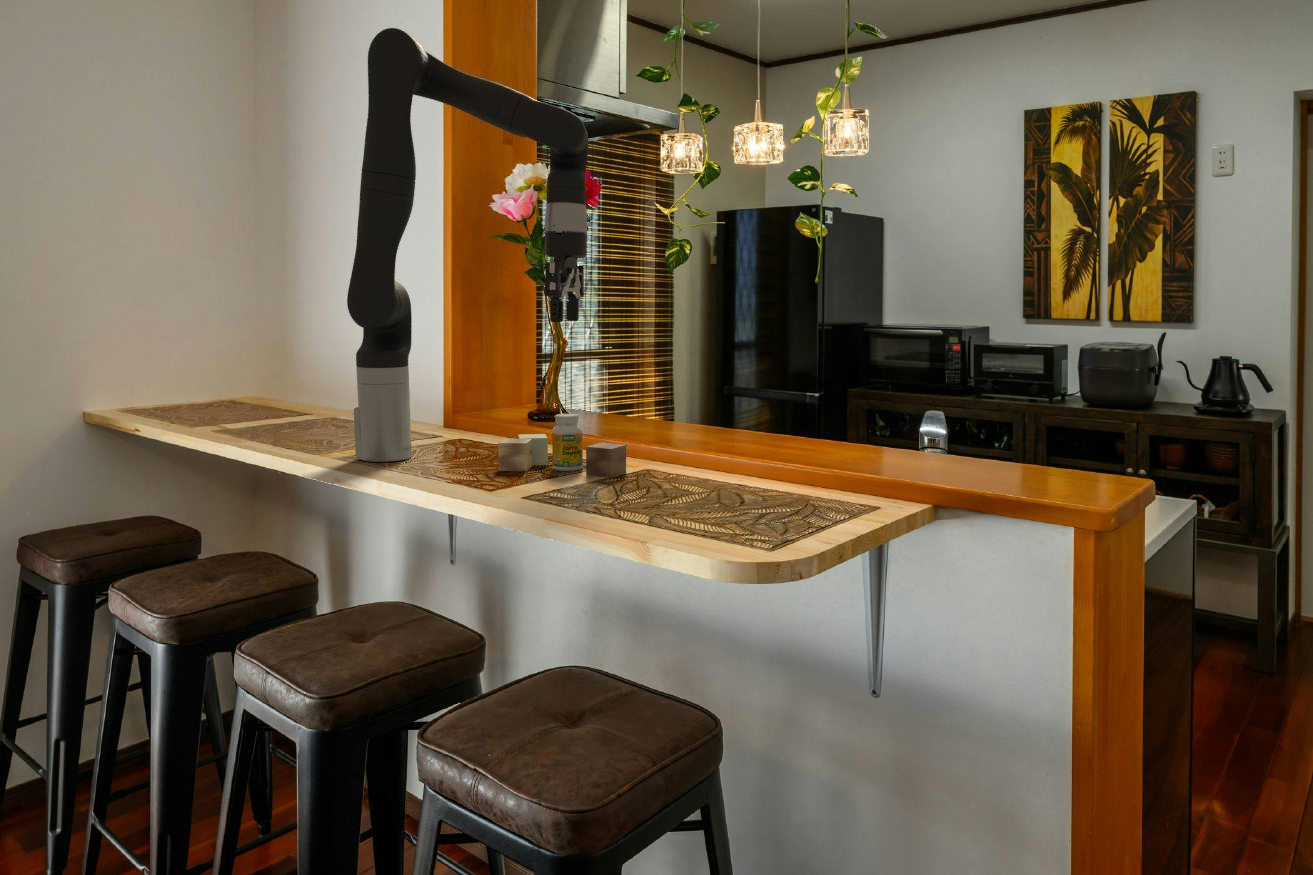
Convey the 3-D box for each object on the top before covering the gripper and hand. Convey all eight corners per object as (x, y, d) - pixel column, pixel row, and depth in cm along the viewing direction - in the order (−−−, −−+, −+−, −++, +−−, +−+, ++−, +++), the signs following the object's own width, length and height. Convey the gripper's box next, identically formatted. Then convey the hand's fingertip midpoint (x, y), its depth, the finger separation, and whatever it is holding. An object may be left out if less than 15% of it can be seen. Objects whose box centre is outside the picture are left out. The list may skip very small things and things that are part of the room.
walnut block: (586, 475, 154) (586, 446, 154) (601, 470, 159) (601, 442, 158) (611, 478, 152) (611, 449, 151) (626, 473, 156) (626, 444, 156)
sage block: (520, 466, 163) (519, 438, 162) (518, 461, 168) (518, 434, 167) (547, 465, 164) (547, 437, 163) (545, 460, 169) (545, 433, 168)
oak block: (498, 471, 158) (498, 442, 157) (504, 465, 163) (504, 438, 162) (526, 471, 158) (526, 443, 157) (532, 466, 163) (531, 438, 162)
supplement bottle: (573, 464, 164) (573, 412, 162) (588, 469, 159) (588, 415, 158) (547, 467, 161) (546, 414, 159) (561, 472, 156) (560, 417, 155)
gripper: (559, 233, 170) (558, 320, 172) (531, 227, 156) (530, 321, 159) (597, 233, 168) (596, 321, 171) (572, 227, 154) (571, 323, 157)
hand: (564, 321), depth 165 cm, fingers open, 8 cm apart
